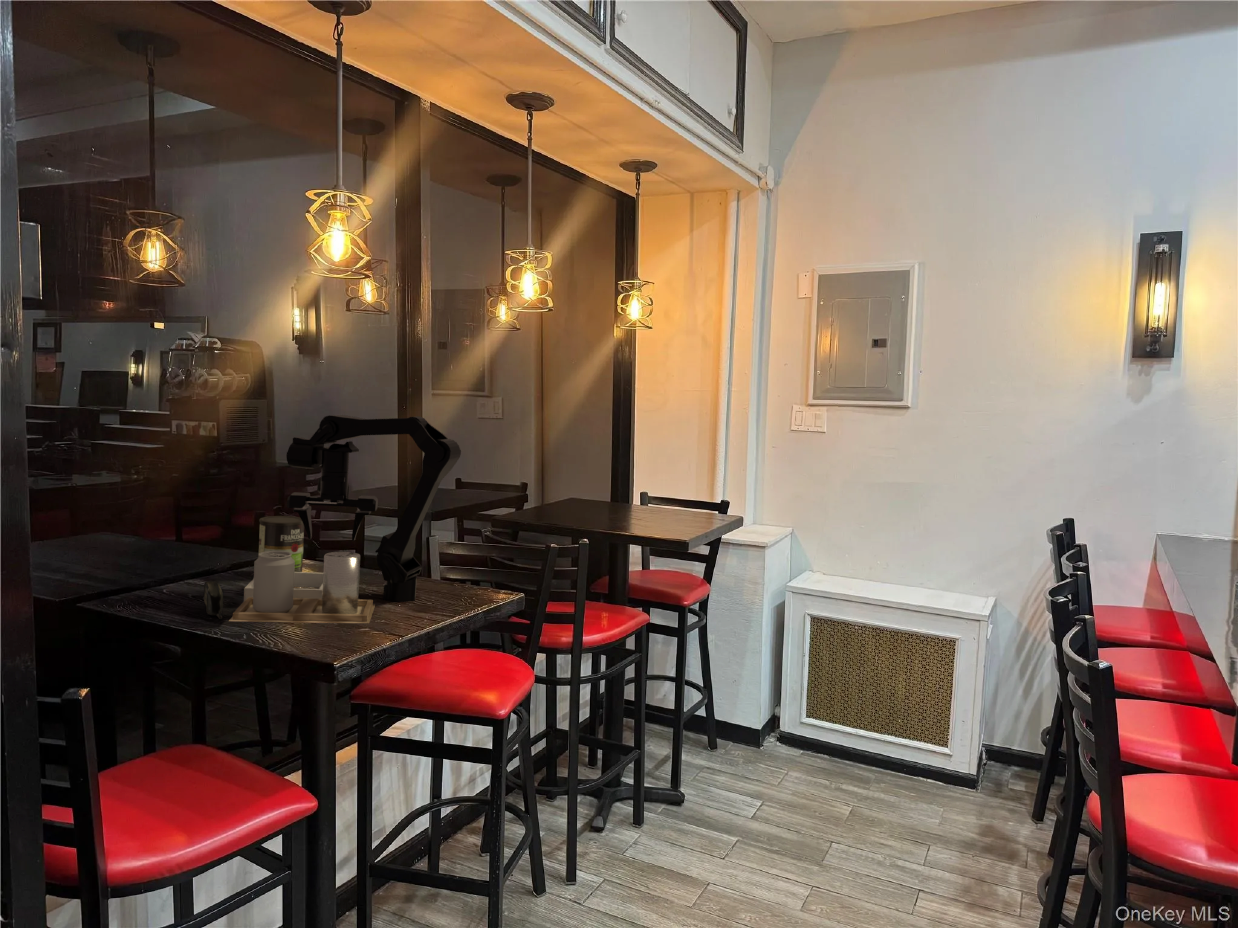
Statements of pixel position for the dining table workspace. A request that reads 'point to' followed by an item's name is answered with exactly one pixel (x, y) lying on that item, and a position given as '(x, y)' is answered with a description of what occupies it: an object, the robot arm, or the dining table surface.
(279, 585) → the can
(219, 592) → the mobile phone
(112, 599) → the dining table surface
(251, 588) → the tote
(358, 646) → the dining table surface
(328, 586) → the steel billet
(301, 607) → the wooden divided tray
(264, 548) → the coffee can
